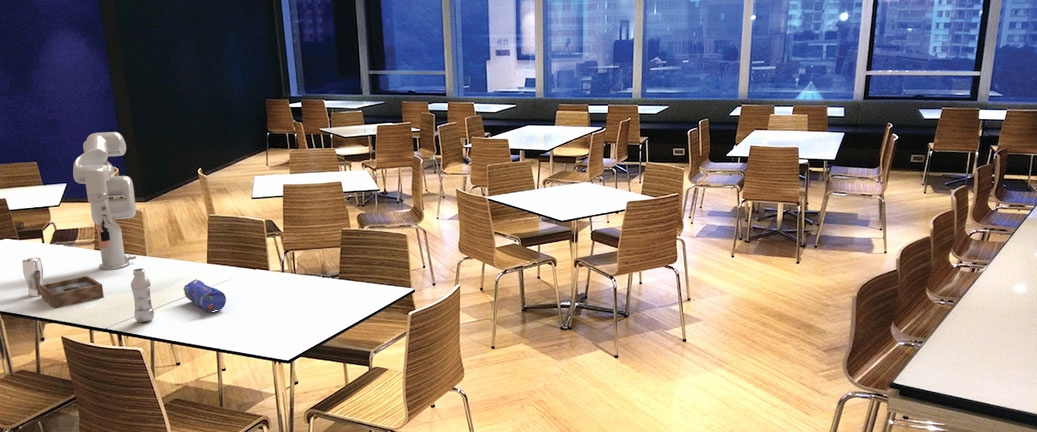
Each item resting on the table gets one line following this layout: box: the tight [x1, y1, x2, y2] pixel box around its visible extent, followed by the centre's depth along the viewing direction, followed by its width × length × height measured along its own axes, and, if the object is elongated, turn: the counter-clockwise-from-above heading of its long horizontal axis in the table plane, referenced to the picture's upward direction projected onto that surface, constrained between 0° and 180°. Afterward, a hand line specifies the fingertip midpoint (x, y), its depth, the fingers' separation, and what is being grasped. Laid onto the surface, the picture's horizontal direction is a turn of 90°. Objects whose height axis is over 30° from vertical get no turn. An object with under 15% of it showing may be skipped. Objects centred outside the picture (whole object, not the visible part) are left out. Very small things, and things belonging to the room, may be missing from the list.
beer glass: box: [21, 257, 44, 298], centre depth 323 cm, size 7×7×15 cm
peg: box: [95, 223, 110, 249], centre depth 330 cm, size 4×4×12 cm
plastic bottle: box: [130, 268, 155, 323], centre depth 290 cm, size 6×7×20 cm
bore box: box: [40, 275, 105, 309], centre depth 319 cm, size 18×18×6 cm
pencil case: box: [183, 278, 227, 313], centre depth 306 cm, size 22×9×10 cm, turn 43°
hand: (103, 239), depth 330 cm, fingers closed on peg, 4 cm apart
